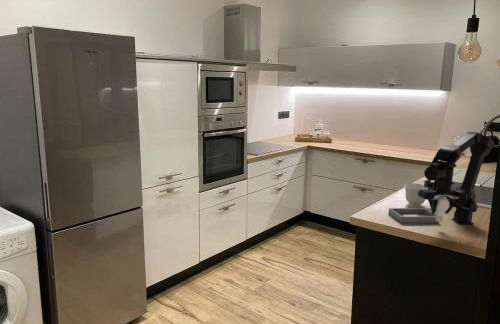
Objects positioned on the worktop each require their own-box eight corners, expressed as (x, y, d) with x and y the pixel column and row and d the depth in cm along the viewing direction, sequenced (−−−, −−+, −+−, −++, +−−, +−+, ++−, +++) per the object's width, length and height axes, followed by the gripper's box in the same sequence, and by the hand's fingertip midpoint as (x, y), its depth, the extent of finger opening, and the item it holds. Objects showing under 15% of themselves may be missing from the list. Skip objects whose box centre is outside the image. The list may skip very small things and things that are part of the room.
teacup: (436, 210, 191) (438, 190, 189) (404, 207, 194) (406, 188, 192) (430, 203, 203) (432, 184, 201) (400, 200, 206) (402, 182, 204)
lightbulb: (428, 221, 166) (431, 196, 163) (433, 218, 170) (437, 193, 168) (443, 225, 161) (447, 200, 159) (449, 222, 165) (452, 197, 163)
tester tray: (424, 214, 185) (425, 208, 185) (439, 223, 174) (439, 216, 173) (388, 214, 183) (388, 208, 182) (400, 223, 171) (401, 217, 171)
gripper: (453, 173, 171) (448, 207, 174) (413, 173, 168) (409, 207, 171) (470, 180, 160) (464, 216, 163) (427, 179, 157) (423, 216, 161)
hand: (439, 213), depth 165 cm, fingers closed on lightbulb, 6 cm apart
